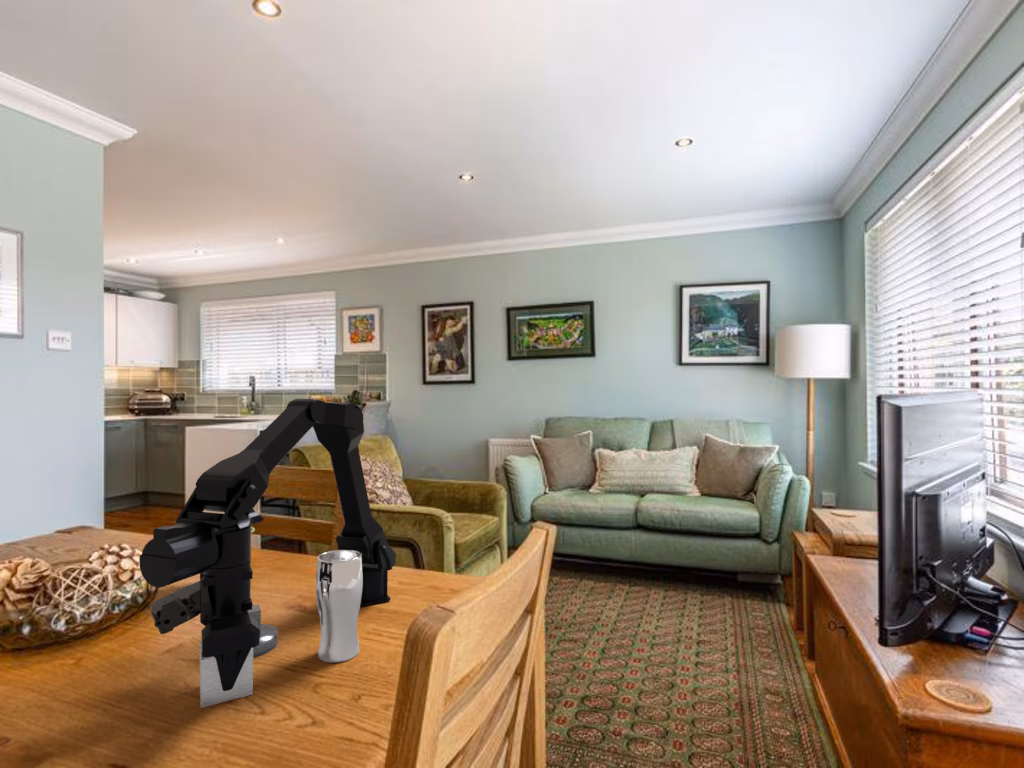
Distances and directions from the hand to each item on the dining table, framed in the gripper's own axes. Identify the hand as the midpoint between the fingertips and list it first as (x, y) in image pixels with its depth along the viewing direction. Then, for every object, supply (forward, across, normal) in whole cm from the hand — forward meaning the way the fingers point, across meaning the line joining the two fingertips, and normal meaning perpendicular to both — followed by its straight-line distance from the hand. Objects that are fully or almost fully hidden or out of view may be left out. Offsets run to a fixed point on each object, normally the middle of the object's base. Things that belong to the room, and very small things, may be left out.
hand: (225, 678), depth 72 cm
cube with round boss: (+2, 0, 0) cm, 2 cm away
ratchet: (+2, -17, +4) cm, 18 cm away
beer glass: (+2, -3, +16) cm, 16 cm away
